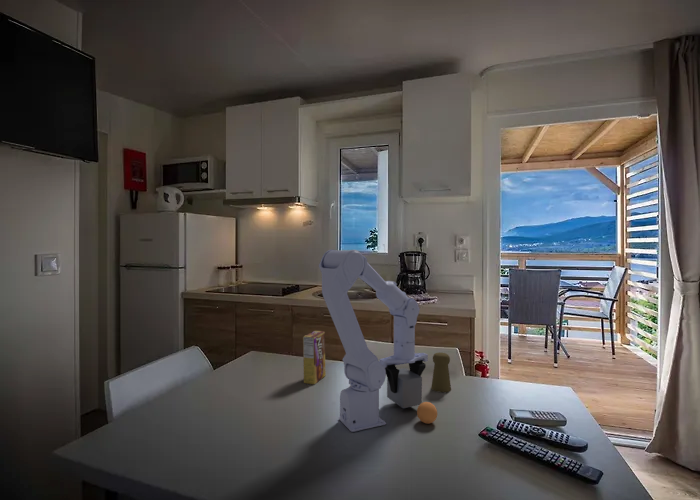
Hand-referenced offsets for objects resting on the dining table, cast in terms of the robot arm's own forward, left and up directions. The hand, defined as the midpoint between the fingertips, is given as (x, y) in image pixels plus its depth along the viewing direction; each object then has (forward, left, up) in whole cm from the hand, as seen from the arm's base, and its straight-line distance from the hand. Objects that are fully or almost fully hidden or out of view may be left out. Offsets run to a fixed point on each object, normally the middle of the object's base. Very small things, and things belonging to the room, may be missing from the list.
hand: (403, 390), depth 105 cm
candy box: (-15, +30, -5) cm, 34 cm away
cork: (+18, +6, -5) cm, 20 cm away
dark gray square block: (0, 0, -3) cm, 3 cm away
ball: (0, -11, -2) cm, 11 cm away
